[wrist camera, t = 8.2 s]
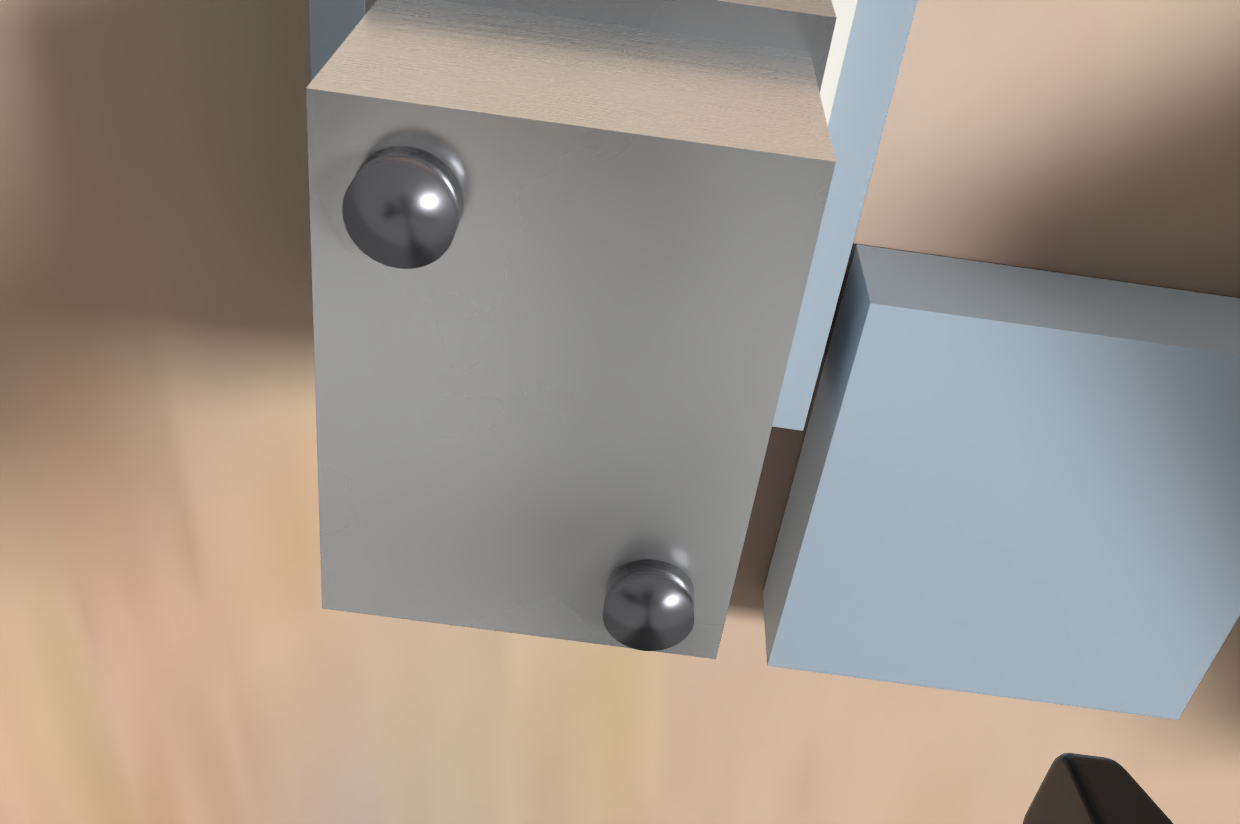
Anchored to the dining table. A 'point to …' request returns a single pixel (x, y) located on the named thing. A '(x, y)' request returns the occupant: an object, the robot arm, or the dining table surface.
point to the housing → (558, 304)
